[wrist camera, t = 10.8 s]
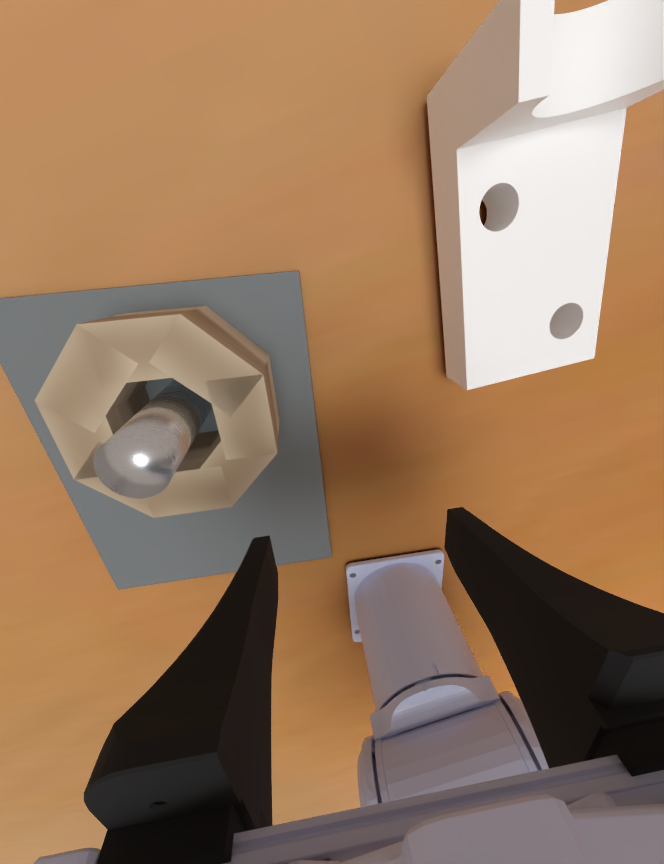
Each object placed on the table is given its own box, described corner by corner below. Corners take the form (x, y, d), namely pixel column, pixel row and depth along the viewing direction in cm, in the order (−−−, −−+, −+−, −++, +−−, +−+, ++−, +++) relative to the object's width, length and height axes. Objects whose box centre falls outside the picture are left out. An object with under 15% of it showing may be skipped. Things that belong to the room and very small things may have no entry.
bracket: (418, 106, 15) (520, -29, 9) (566, 69, 15) (783, -92, 9) (440, 372, 21) (511, 418, 14) (548, 345, 21) (671, 378, 14)
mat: (331, 554, 26) (331, 556, 26) (119, 586, 25) (118, 589, 25) (298, 270, 17) (298, 270, 17) (-27, 301, 16) (-32, 301, 16)
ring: (286, 457, 22) (285, 499, 18) (134, 477, 21) (97, 525, 17) (260, 299, 18) (251, 306, 13) (69, 318, 17) (-1, 331, 13)
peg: (219, 414, 20) (180, 493, 13) (174, 420, 20) (109, 502, 13) (208, 372, 19) (159, 432, 12) (161, 377, 19) (81, 441, 11)
